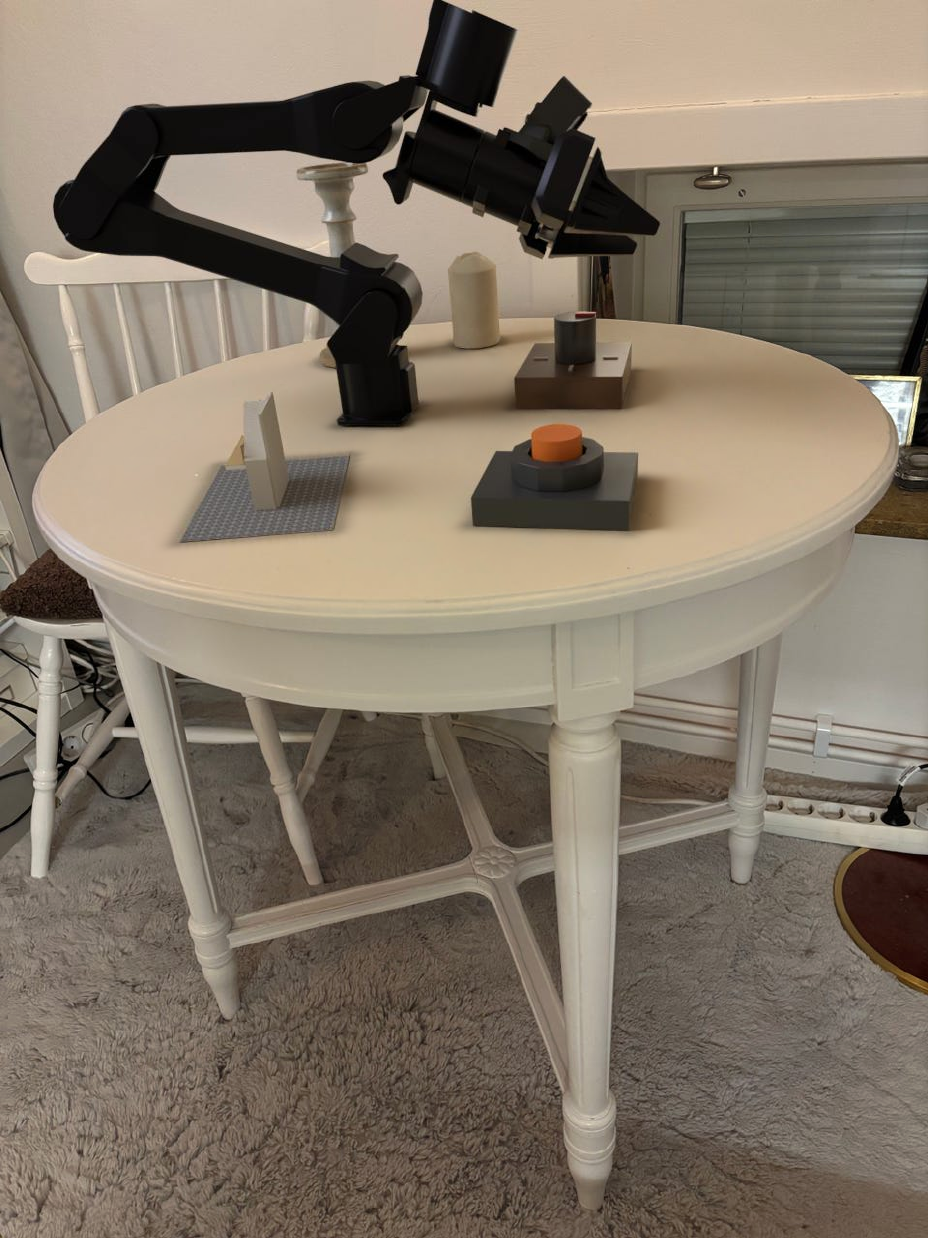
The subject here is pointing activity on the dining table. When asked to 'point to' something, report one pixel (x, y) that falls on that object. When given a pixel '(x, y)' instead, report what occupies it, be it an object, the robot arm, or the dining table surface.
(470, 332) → the candle
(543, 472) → the push button base
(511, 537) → the dining table surface
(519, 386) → the panel
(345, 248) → the candle holder
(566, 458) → the spray button
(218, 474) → the architectural model
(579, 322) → the knob
